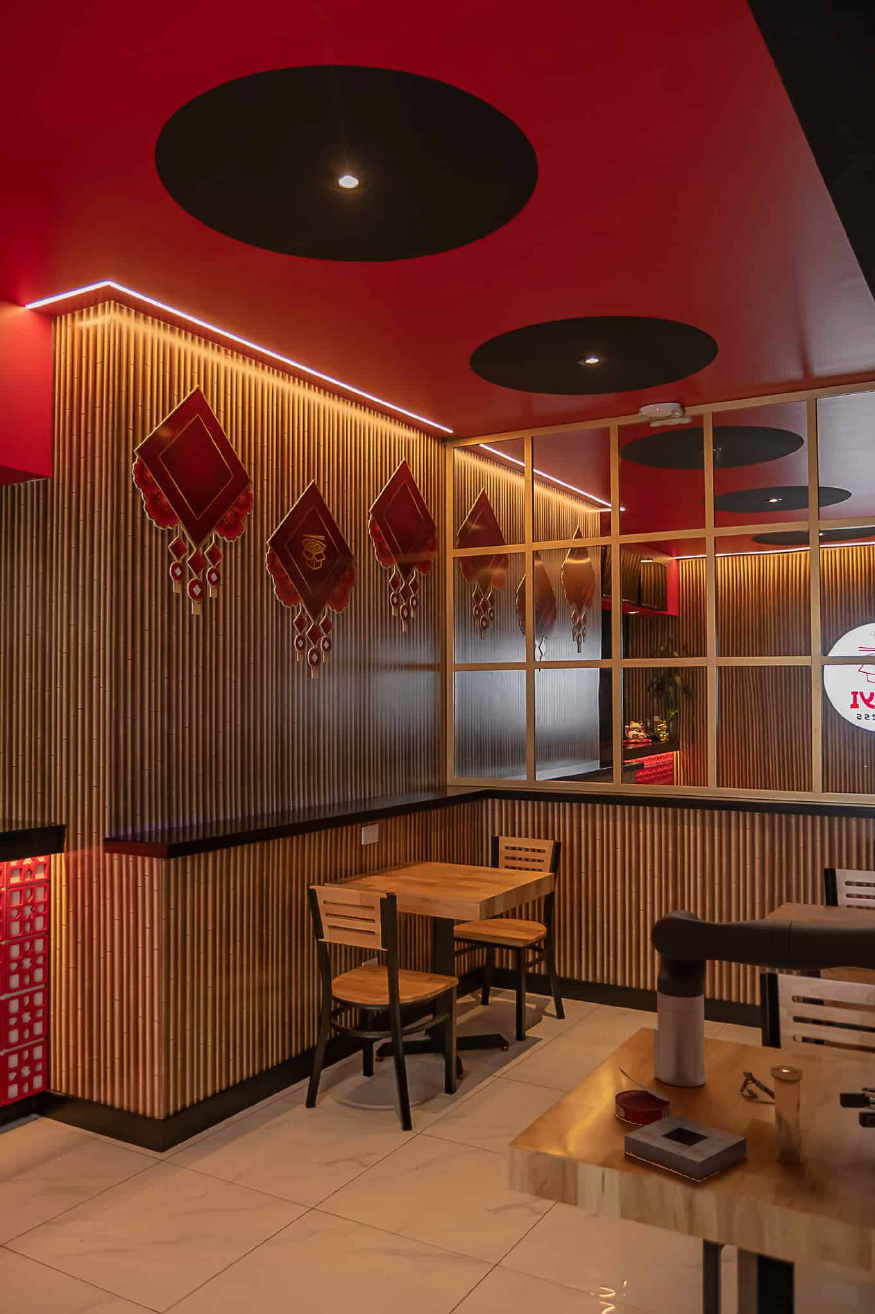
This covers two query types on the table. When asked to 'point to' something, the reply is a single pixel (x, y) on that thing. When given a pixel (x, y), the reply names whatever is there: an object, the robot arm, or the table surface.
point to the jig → (686, 1146)
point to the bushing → (787, 1113)
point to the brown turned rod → (757, 1083)
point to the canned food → (641, 1105)
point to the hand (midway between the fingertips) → (849, 1109)
